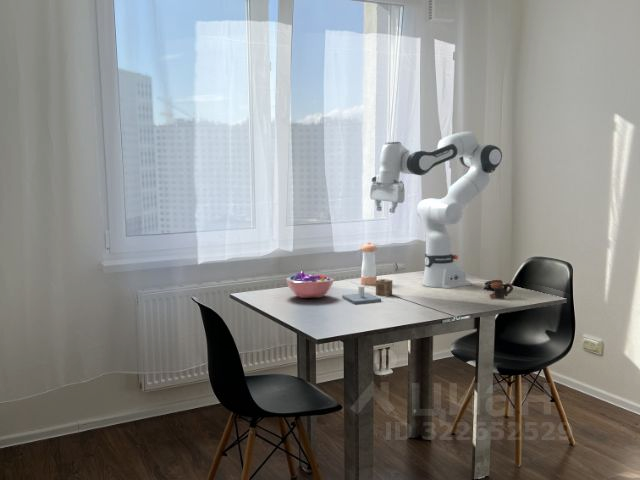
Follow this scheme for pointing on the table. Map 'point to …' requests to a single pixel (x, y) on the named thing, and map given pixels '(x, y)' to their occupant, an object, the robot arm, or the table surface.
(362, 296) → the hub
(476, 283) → the table surface
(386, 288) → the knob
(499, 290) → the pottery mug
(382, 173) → the robot arm
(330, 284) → the cell model
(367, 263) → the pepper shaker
